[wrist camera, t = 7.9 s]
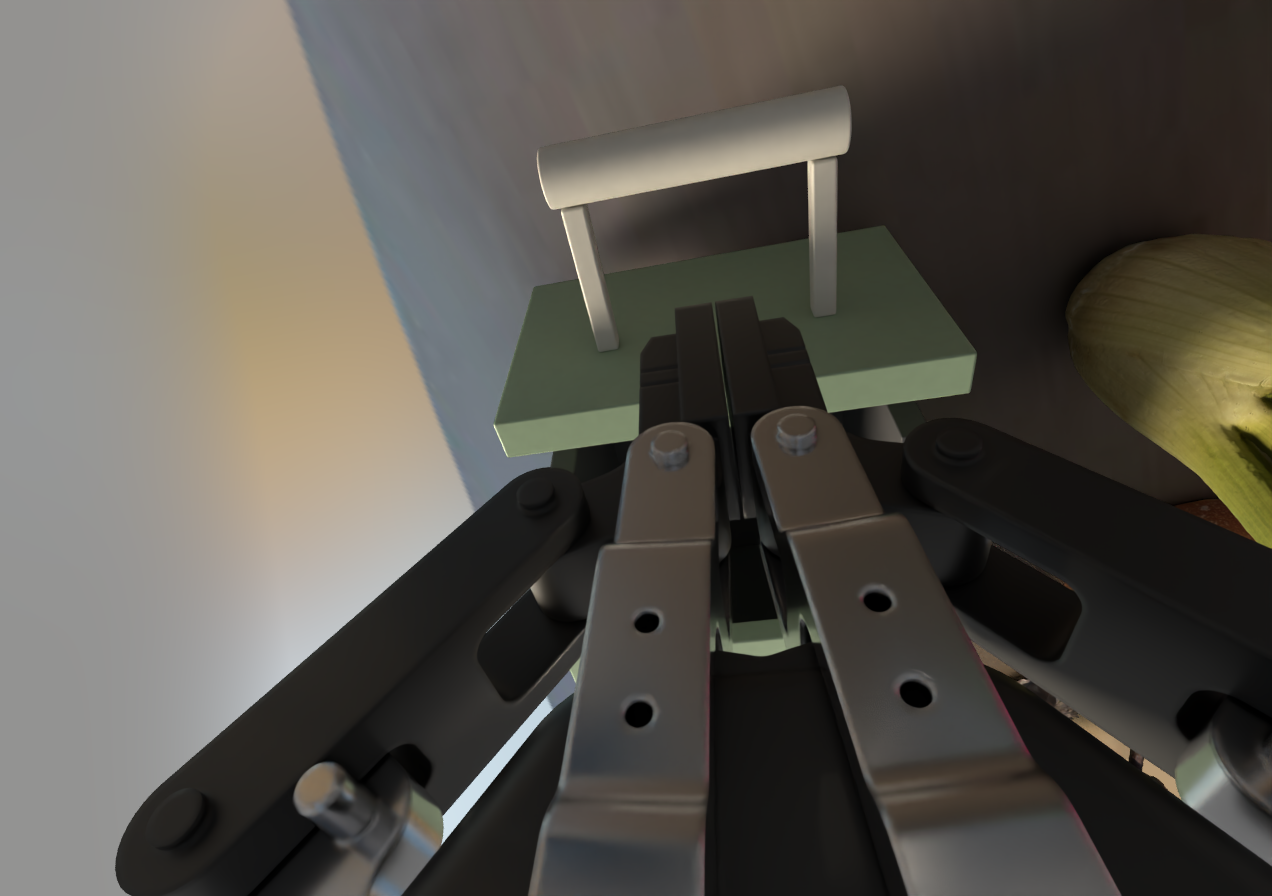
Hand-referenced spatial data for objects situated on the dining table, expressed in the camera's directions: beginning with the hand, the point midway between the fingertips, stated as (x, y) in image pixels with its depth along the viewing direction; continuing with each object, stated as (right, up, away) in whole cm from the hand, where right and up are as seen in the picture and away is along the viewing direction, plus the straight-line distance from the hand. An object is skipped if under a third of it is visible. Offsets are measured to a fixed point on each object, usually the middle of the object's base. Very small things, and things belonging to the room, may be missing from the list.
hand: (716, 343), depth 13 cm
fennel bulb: (+16, +4, +11) cm, 20 cm away
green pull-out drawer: (+1, +1, +12) cm, 12 cm away
